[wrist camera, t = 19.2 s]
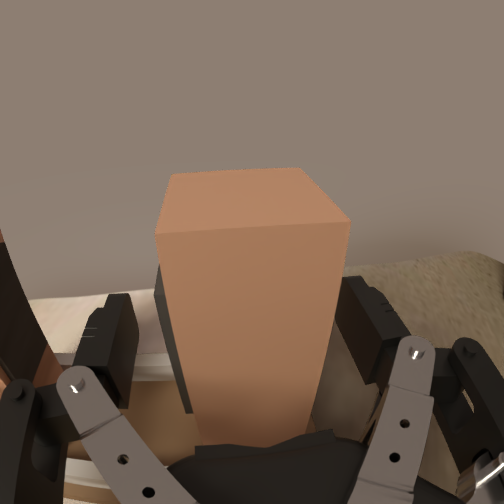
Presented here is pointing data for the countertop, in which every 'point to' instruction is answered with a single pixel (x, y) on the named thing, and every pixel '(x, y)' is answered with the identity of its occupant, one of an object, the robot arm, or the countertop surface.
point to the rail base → (138, 413)
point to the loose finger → (248, 298)
